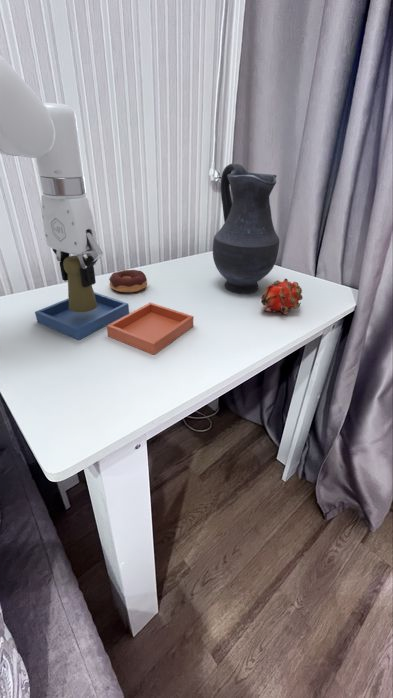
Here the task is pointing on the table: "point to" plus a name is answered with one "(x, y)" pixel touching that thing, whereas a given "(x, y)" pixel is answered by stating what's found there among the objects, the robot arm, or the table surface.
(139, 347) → the terracotta tray
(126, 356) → the table surface
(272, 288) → the dragon fruit
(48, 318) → the blue tray
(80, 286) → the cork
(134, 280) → the donut
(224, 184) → the pitcher
